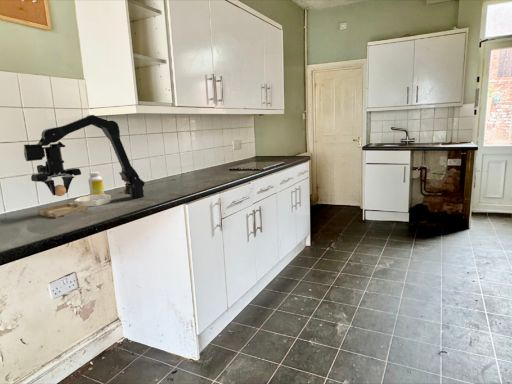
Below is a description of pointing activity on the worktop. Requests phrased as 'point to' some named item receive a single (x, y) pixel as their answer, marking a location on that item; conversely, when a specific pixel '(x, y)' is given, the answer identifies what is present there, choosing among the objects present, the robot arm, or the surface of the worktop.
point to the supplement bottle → (95, 184)
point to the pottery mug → (127, 189)
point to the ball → (60, 190)
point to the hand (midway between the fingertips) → (60, 194)
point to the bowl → (93, 200)
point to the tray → (61, 210)
